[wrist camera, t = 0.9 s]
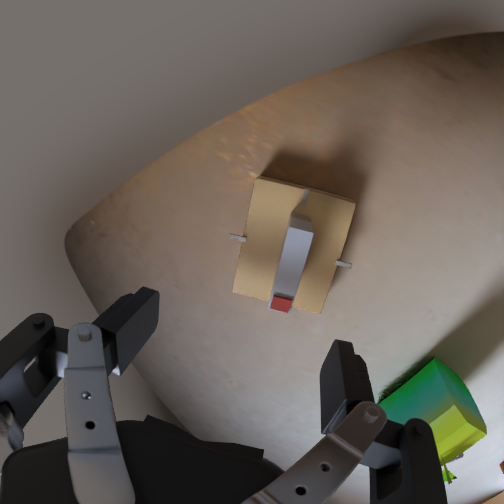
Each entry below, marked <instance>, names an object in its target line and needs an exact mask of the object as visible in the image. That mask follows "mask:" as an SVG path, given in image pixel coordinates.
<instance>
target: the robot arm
mask: <svg viewBox="0 0 504 504" xmlns="http://www.w3.org/2000/svg"><path fill="white" fill-rule="evenodd" d="M158 315H159V292H158V291H156V290H153V289H150V288H147V287H142V288H141V289H139V290H138V291H137V292H136V293H135V294H132V293H130V294H127V295H124V296H122V297H120V298H119V299H118V300H117V301H116V302H115V303H114V304H112V305H111V306H110V307H109V308H108V309H107V310H106V311H105V312H103V313H102V314H101V315H100V316H99V317H98V318H97V319H96V320H95V321H94V322H92V324H90V323H79V324H76V325H74V326H73V327H72V328H70V330H69V329H64V328H59V327H55V326H54V322H53V319H52V317H51V316H49V315H47V314H45V313H36V314H32V315H30V316H29V317H27V318H26V319H25V320H24V321H23V322H21V323H20V324H19V325H18V326H17V327H16V328H14V329H13V330H12V331H11V332H10V333H9V334H8V335H6V336H5V337H4V338H3V339H2V340H1V341H0V474H1V485H0V504H324V503H325V502H326V501H327V500H328V499H329V497H330V496H331V495H332V494H333V493H334V492H335V491H336V490H337V489H338V488H339V487H340V485H341V484H342V483H343V482H344V481H345V480H346V478H347V477H348V476H349V475H350V474H351V472H352V471H353V470H354V469H355V468H356V466H357V465H358V464H362V465H365V466H368V467H369V471H370V504H448V503H447V496H446V490H445V485H444V479H443V474H442V469H441V464H440V459H439V455H438V451H437V446H436V442H435V438H434V434H433V431H432V428H431V427H430V425H429V424H428V423H427V422H426V421H424V420H422V419H419V418H411V419H409V420H408V421H407V422H406V423H405V424H404V425H403V424H400V423H397V422H394V421H391V420H389V419H387V415H386V412H385V411H384V409H383V408H382V407H381V406H379V405H378V404H376V403H375V401H374V396H373V392H372V387H371V383H370V380H369V375H368V371H367V366H366V363H365V362H364V360H363V359H362V358H361V356H360V355H356V354H355V353H354V349H353V344H352V343H351V342H347V341H342V340H337V339H336V340H334V342H333V344H332V346H331V348H330V350H329V352H328V354H327V357H326V359H325V361H324V363H323V365H322V368H321V371H320V399H321V434H326V436H325V437H324V438H322V439H321V440H320V441H319V442H318V443H317V444H316V445H315V446H314V447H313V448H312V449H311V450H310V451H309V452H308V453H306V454H305V455H304V456H303V457H302V458H301V459H300V460H298V461H297V462H296V463H295V464H294V465H293V466H291V467H290V468H289V469H288V470H287V471H284V470H282V469H281V468H280V467H279V466H277V465H276V464H275V463H273V462H271V461H269V460H268V459H265V458H263V453H264V449H259V448H254V447H249V446H245V445H241V444H236V443H223V442H209V441H202V440H200V439H198V438H196V437H194V436H192V435H190V434H189V433H187V432H185V431H184V430H182V429H180V428H178V427H177V426H175V425H173V424H171V423H168V422H165V421H163V420H160V419H157V418H155V417H152V416H150V415H147V417H146V419H145V420H144V421H135V420H126V421H118V422H117V421H116V417H115V412H114V408H113V402H112V397H111V392H110V386H109V380H108V376H109V375H110V374H111V372H113V373H115V374H117V375H119V376H121V375H122V373H123V372H124V371H125V369H126V368H127V367H128V365H129V364H130V363H131V361H132V360H133V359H134V357H135V356H136V355H137V353H138V352H139V351H140V349H141V348H142V347H143V345H144V344H145V343H146V342H147V340H148V339H149V338H150V336H151V335H152V334H153V333H154V331H155V329H156V327H157V324H158ZM33 358H35V362H34V363H33V364H32V365H31V366H30V367H29V368H28V369H27V370H26V371H25V372H24V369H25V367H26V366H27V365H28V364H29V363H30V362H31V361H32V360H33ZM62 377H63V378H64V402H65V418H66V429H67V437H64V438H61V439H57V440H53V441H50V442H45V443H41V444H37V445H32V446H28V447H24V448H23V443H22V442H23V440H24V432H23V428H24V427H25V425H26V424H27V422H28V421H29V420H30V419H31V417H32V416H33V414H34V413H35V412H36V411H37V409H38V408H39V406H40V405H41V404H42V403H43V401H44V400H45V399H46V397H47V396H48V395H49V394H50V392H51V391H52V390H53V389H54V387H55V386H56V385H57V384H58V382H59V381H60V380H61V378H62Z"/></svg>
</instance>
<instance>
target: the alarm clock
mask: <svg viewBox="0 0 504 504" xmlns="http://www.w3.org/2000/svg"><path fill="white" fill-rule="evenodd" d="M500 467H501V469H502V472H503V474H504V462H502V463H501V464H500Z"/></svg>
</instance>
